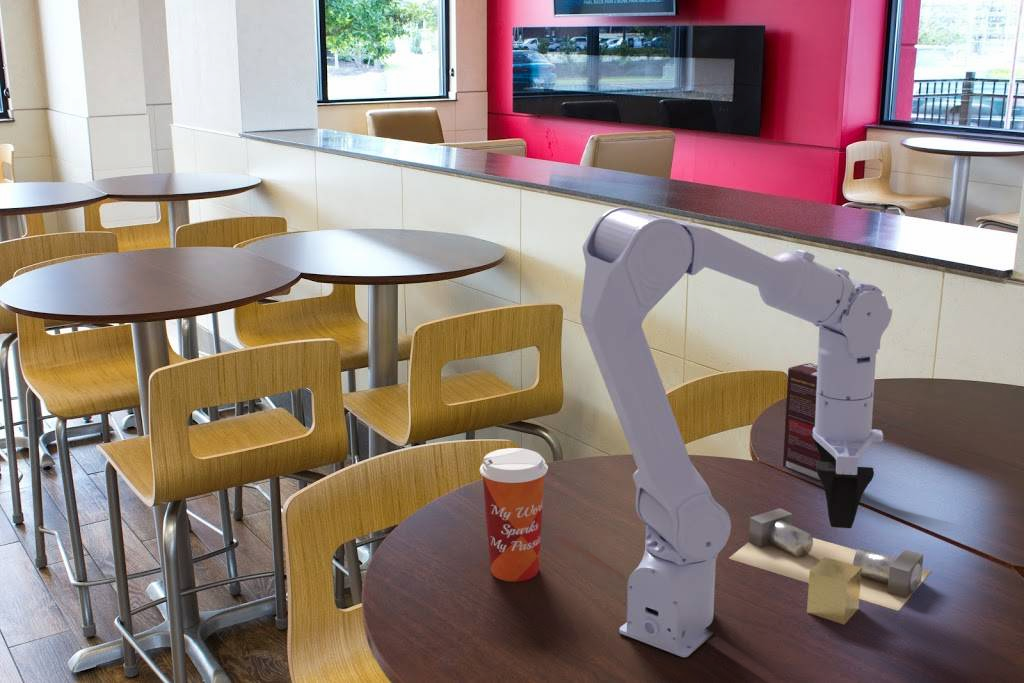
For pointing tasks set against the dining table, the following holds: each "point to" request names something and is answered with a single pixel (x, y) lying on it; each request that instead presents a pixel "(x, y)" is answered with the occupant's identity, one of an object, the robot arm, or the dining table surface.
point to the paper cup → (514, 511)
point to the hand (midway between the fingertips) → (838, 510)
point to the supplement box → (801, 421)
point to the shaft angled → (790, 538)
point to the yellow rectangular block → (834, 590)
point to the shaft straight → (881, 566)
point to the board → (797, 568)
